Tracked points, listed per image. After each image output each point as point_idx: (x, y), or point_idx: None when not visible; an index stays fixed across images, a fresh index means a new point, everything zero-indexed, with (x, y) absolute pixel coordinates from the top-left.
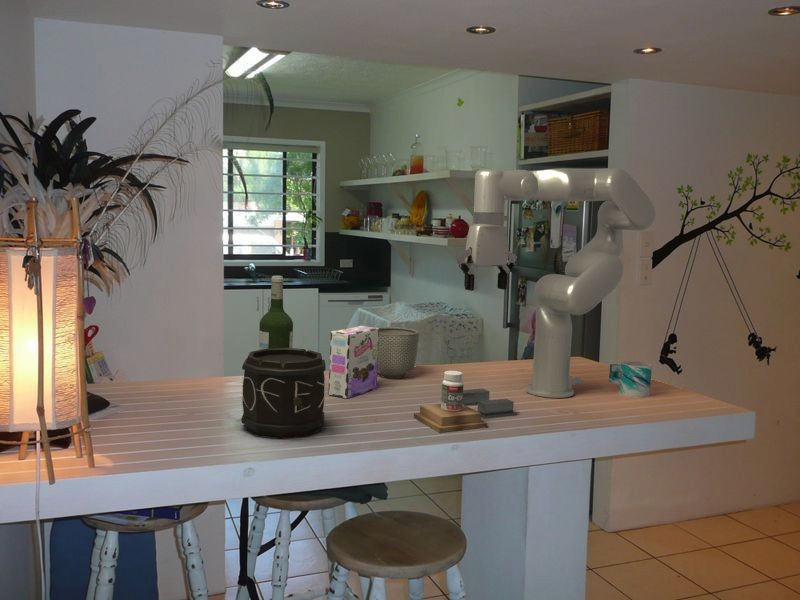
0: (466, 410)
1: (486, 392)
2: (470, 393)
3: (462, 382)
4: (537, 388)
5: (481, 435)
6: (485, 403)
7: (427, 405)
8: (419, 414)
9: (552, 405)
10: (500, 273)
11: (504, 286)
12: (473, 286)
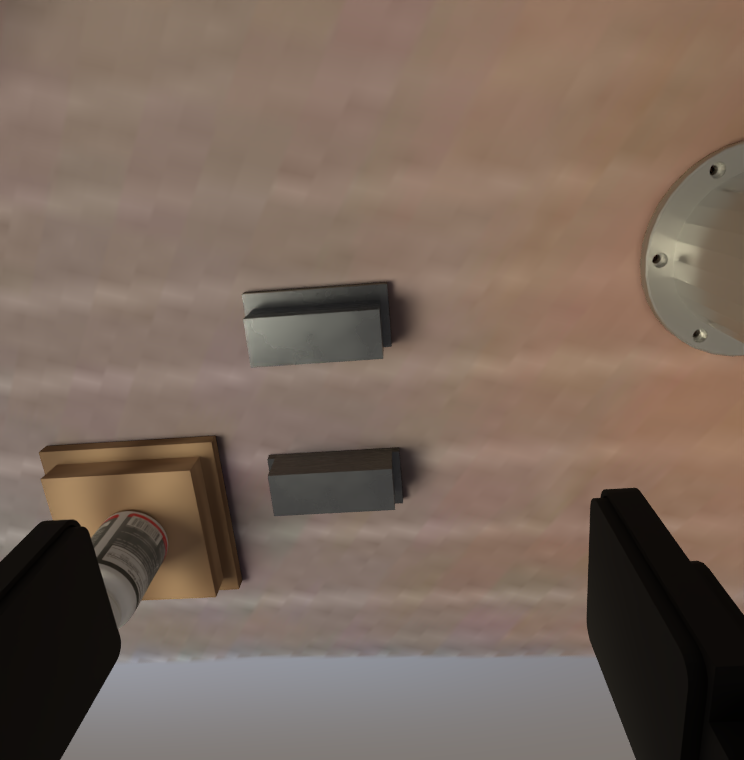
0: (180, 561)
1: (368, 358)
2: (291, 364)
3: (124, 622)
4: (676, 274)
5: (197, 630)
6: (281, 506)
7: (66, 482)
8: (54, 466)
9: (607, 425)
10: (696, 727)
11: (604, 658)
12: (88, 695)
